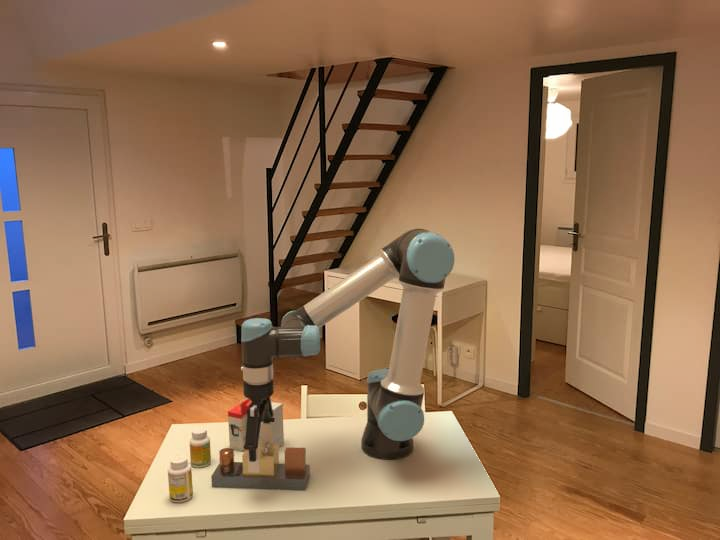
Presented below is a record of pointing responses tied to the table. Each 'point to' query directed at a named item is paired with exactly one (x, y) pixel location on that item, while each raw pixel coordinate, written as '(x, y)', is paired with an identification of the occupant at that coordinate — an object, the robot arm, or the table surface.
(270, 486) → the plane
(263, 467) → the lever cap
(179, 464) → the supplement bottle
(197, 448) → the supplement bottle
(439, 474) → the table surface
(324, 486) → the table surface
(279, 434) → the supplement box
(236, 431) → the ink box
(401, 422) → the robot arm
